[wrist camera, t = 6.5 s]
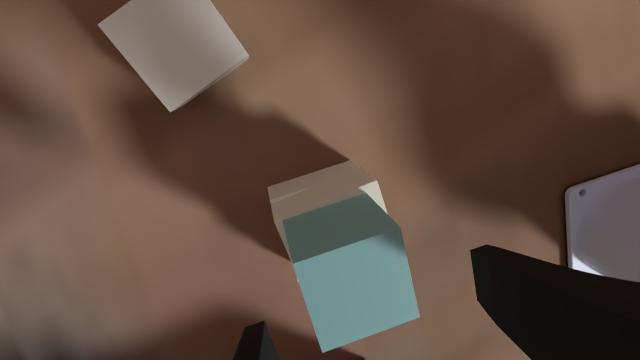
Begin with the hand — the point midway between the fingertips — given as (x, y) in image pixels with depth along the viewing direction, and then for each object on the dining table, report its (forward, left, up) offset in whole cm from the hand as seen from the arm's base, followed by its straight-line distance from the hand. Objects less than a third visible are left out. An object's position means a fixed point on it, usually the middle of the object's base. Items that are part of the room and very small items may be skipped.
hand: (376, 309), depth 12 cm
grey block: (+4, -10, -10) cm, 15 cm away
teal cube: (0, 0, -6) cm, 6 cm away
